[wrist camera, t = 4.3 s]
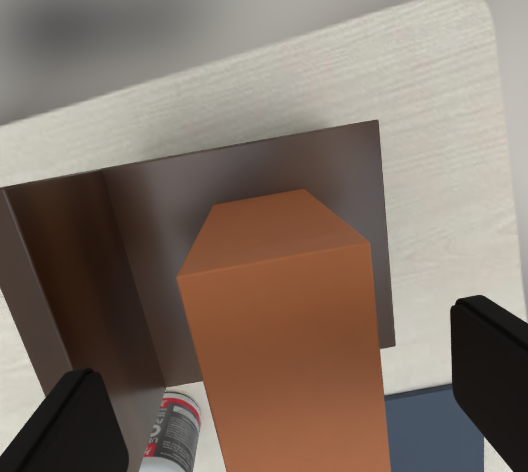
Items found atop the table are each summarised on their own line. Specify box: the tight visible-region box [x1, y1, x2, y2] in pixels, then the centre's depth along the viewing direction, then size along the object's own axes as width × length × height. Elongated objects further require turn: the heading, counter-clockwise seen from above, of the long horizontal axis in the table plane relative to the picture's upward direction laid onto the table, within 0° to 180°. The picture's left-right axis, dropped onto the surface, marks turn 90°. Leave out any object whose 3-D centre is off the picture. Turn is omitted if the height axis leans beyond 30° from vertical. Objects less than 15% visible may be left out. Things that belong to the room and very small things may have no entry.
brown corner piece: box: [0, 120, 396, 472], centre depth 19 cm, size 14×12×16 cm
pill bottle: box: [139, 393, 201, 472], centre depth 26 cm, size 5×5×10 cm
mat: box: [384, 384, 484, 472], centre depth 33 cm, size 10×12×1 cm
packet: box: [176, 189, 391, 472], centre depth 13 cm, size 7×4×9 cm, turn 10°
